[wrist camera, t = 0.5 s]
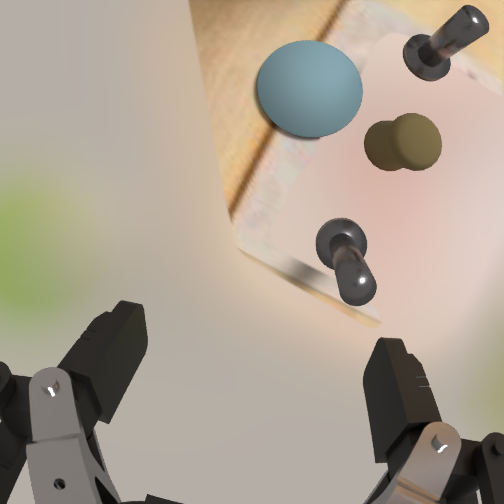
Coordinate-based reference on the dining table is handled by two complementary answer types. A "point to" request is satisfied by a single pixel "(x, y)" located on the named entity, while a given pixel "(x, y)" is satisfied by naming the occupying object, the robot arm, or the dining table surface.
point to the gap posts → (347, 231)
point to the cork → (403, 143)
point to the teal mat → (309, 88)
